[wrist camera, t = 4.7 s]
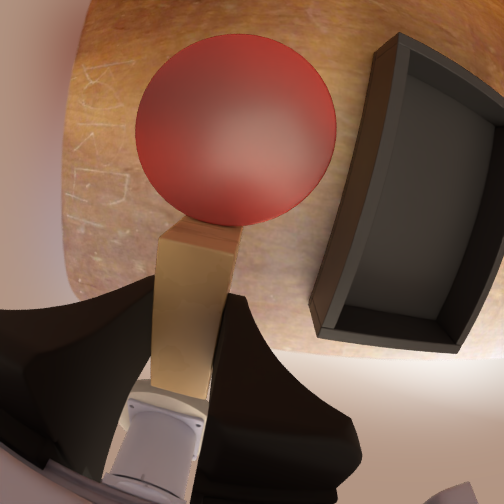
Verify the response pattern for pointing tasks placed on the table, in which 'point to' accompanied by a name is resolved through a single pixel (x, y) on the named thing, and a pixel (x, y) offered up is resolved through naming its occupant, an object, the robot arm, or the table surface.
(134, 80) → the table surface
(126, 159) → the table surface
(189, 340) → the paddle
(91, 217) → the table surface
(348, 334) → the bin
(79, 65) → the table surface
